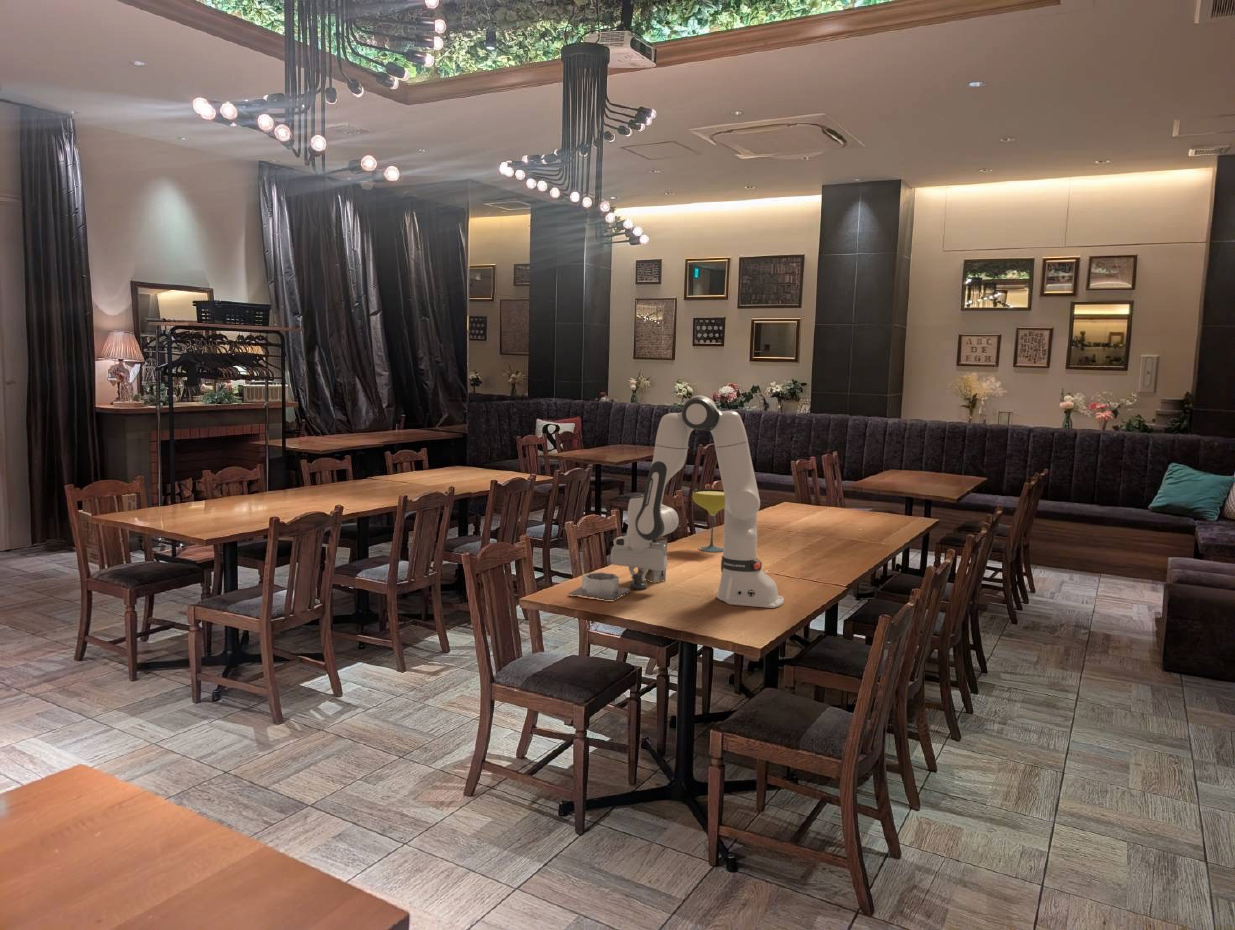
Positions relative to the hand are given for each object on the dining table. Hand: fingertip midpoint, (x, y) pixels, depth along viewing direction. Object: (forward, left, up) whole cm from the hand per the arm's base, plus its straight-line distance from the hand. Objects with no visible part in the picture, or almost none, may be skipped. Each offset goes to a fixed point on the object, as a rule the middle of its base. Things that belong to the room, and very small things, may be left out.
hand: (638, 579), depth 306 cm
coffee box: (0, -14, -3) cm, 14 cm away
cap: (0, 0, -3) cm, 3 cm away
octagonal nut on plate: (+8, +14, -3) cm, 17 cm away
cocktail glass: (-3, -78, -3) cm, 78 cm away
